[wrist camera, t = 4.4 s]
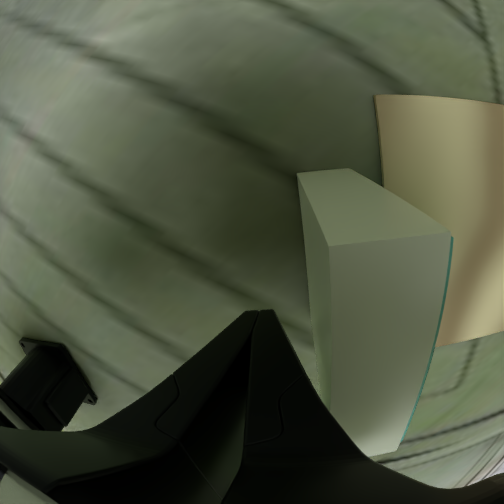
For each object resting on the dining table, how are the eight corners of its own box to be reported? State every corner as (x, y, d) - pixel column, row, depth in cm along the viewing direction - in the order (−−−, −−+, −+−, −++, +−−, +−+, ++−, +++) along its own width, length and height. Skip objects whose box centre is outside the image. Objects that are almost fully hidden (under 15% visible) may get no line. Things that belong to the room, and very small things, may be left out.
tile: (310, 317, 14) (326, 463, 7) (296, 173, 12) (328, 245, 4) (357, 311, 14) (402, 449, 7) (353, 167, 12) (460, 230, 4)
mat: (376, 353, 15) (377, 357, 15) (373, 95, 10) (375, 94, 10) (520, 322, 13) (522, 324, 13) (546, 114, 8) (549, 115, 8)
